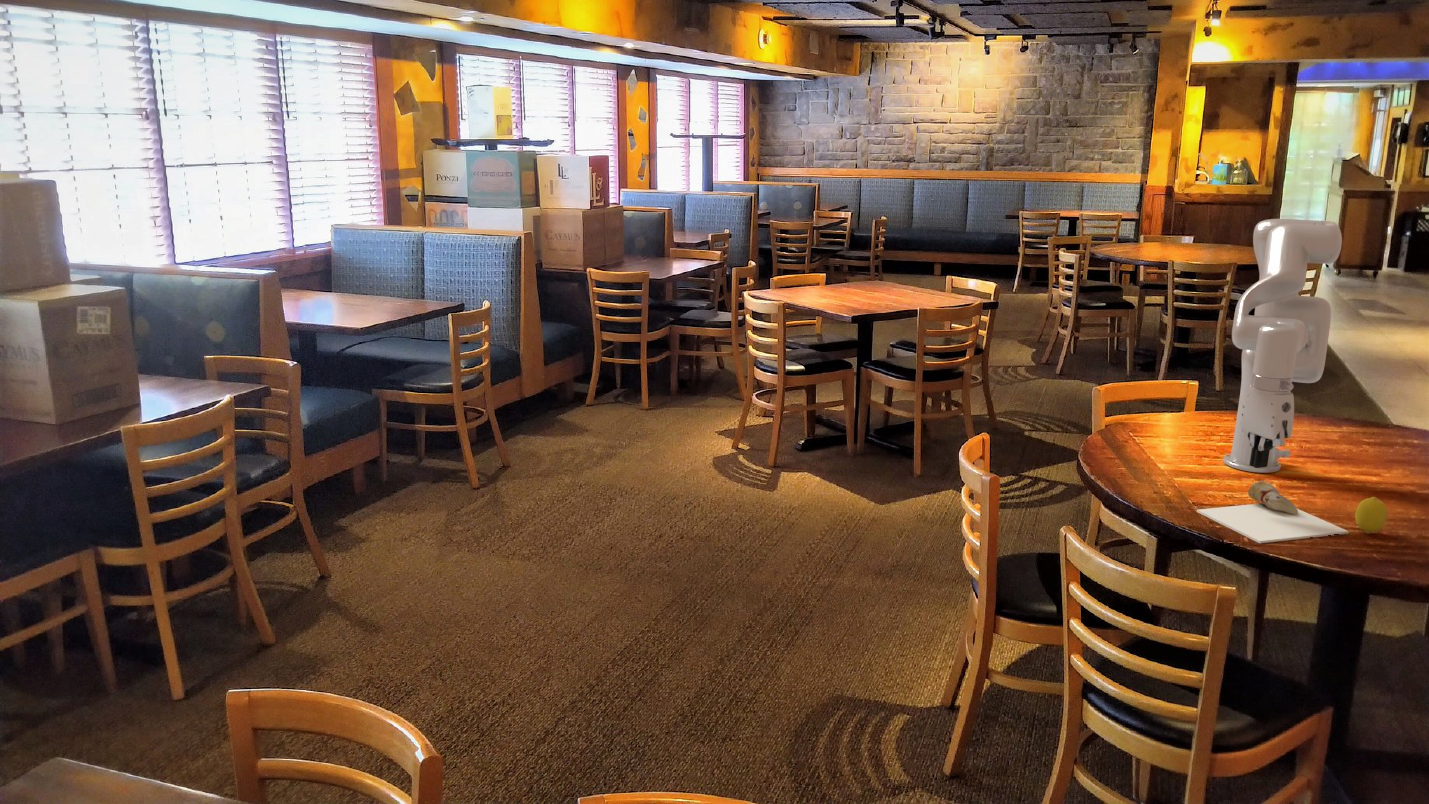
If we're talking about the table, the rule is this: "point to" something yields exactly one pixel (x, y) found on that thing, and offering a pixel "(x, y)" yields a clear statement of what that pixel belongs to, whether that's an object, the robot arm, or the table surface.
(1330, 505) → the table surface
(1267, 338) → the robot arm
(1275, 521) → the mat
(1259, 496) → the chocolate bunny
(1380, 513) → the lemon
